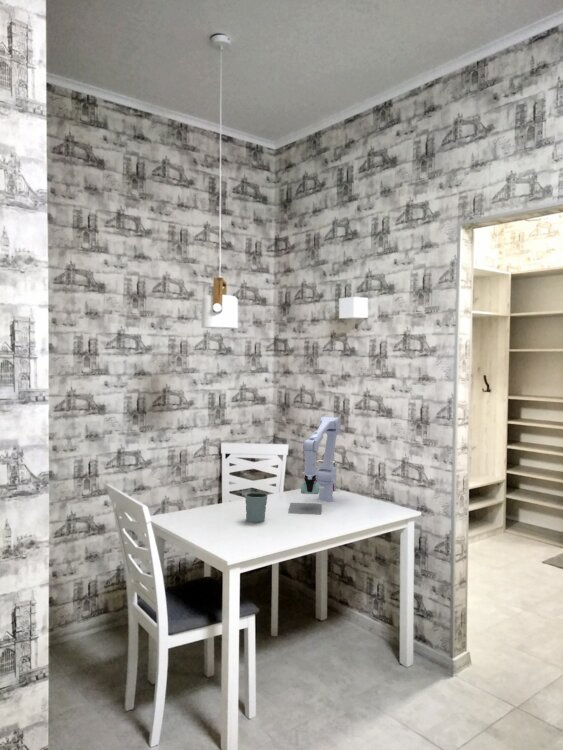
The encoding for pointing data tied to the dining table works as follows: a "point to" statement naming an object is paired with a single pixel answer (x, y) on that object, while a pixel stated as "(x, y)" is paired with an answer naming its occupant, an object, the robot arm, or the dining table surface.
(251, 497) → the teal cup
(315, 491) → the teal plug
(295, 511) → the charcoal mat
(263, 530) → the dining table surface
